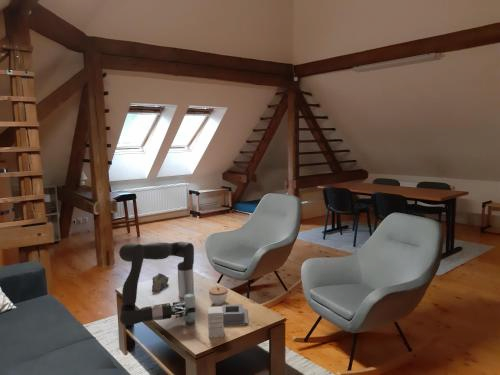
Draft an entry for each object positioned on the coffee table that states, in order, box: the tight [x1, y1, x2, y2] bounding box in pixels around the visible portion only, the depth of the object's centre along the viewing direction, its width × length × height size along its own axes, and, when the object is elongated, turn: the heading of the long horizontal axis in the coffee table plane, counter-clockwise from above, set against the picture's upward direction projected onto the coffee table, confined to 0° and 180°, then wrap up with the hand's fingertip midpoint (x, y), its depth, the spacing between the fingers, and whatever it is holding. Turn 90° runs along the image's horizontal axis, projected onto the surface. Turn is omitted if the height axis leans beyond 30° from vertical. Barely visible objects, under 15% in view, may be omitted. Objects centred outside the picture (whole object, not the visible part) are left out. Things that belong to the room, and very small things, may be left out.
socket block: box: [221, 304, 249, 327], centre depth 211 cm, size 16×16×5 cm
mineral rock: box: [151, 272, 170, 292], centre depth 254 cm, size 13×11×10 cm
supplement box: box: [207, 305, 225, 339], centre depth 194 cm, size 7×7×13 cm
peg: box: [183, 294, 196, 326], centre depth 206 cm, size 5×5×15 cm
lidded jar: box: [208, 286, 228, 306], centre depth 230 cm, size 11×11×9 cm
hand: (194, 307), depth 206 cm, fingers open, 6 cm apart
